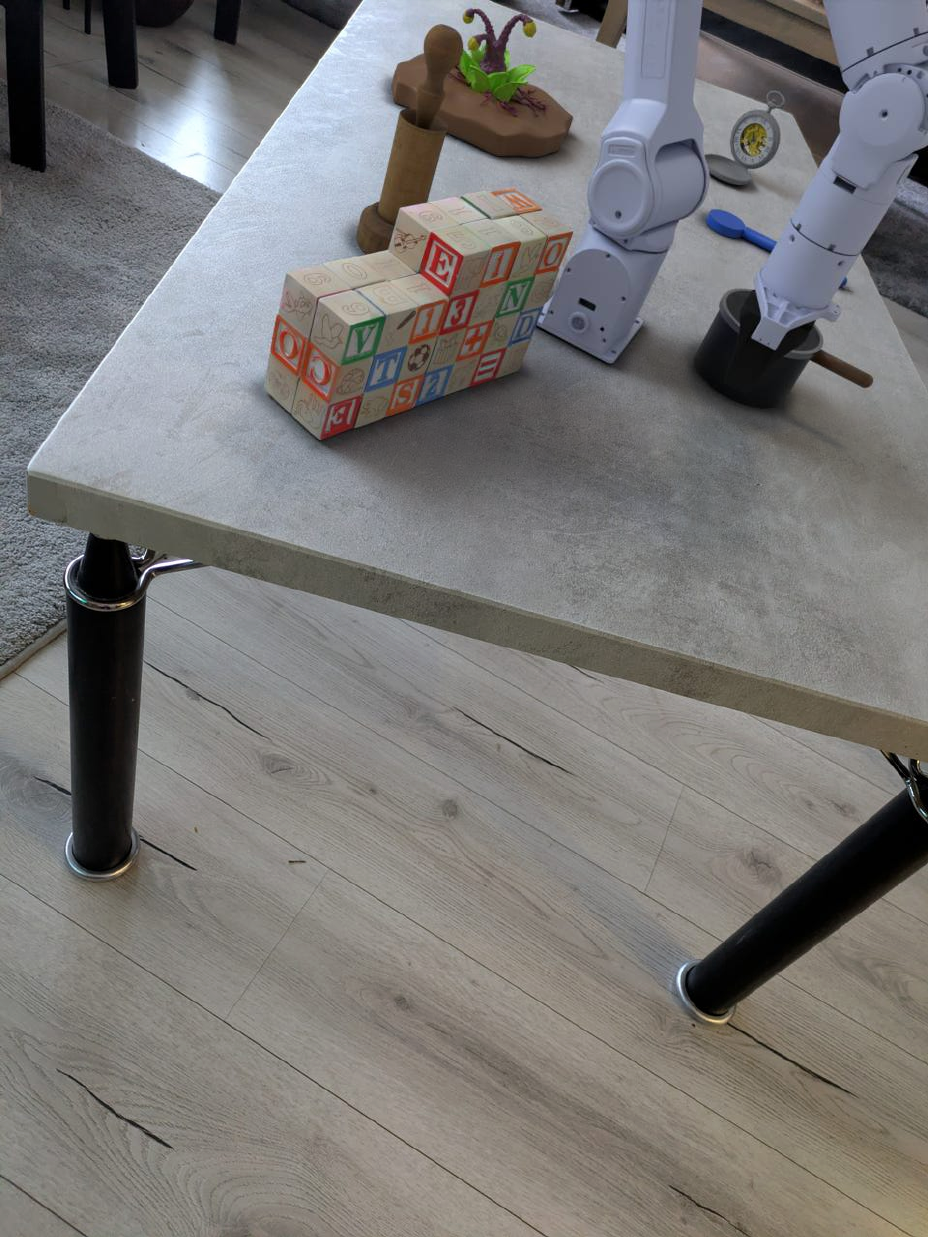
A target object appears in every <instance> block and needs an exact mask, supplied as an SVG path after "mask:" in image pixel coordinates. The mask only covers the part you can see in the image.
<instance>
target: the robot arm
mask: <svg viewBox="0 0 928 1237" xmlns="http://www.w3.org/2000/svg"><path fill="white" fill-rule="evenodd" d="M703 1H704V0H628V1H627V18H626V33H625V47H624V64H623V80H622V96H621V104H620V105H619V107H618V109H617V110H616V112H614V115H613V116H612V118H611V119H610V120H609V122H608V124H607V125H606V127H605V128H604V130H603V131H602V133H601V135H600V141H599V142H600V144H599V154H598V159H597V162H596V165H595V167H594V168H593V171H592V173H591V175H590V177H589V180H588V184H587V192H586V198H587V199H586V200H587V206H588V211H589V216H588V219H587V221H586V223H585V225H584V228H583V231H582V234H581V235H580V238H579V241H578V243H577V246H576V248H575V249H574V250H575V251H574V253H573V254H572V255H571V256H570V257H569V258H568V260H567V262H566V264H565V266H564V268H563V270H562V272H561V275H560V277H559V280H558V282H557V285H556V287H555V290H554V293H553V295H552V296H551V297H550V298H548V300H547V302H546V303H545V305H544V308H543V310H542V313H541V315H540V317H539V320H538V322H537V325H536V327H539V328H541V329H543V330H545V331H547V332H548V333H551V334H552V335H554V336H556V337H558V338H560V339H562V340H564V341H566V342H567V343H568V344H569V343H570V344H571V345H572V346H575V347H576V348H579V349H581V350H582V351H584V352H586V353H587V354H590V355H592V356H594V357H596V358H597V359H599V360H601V361H603V362H605V363H607V364H613V363H615V361H616V360H617V359H618V357H619V356H620V355H621V354H622V353H623V352H624V349H626V347H627V346H628V345H629V343H630V342H631V340H632V339H633V338H634V337H635V335H637V333H638V331H639V330H640V329H641V328H642V327H643V325H644V319H643V318H641V317H639V316H638V315H639V313H640V312H641V309H642V307H643V305H644V304H645V301H646V299H647V297H648V295H649V292H650V290H651V288H652V287H653V284H654V282H655V280H656V278H657V275H658V273H659V272H660V270H661V267H662V265H663V263H664V262H665V259H666V257H667V255H668V253H669V251H670V249H671V247H672V244H673V243H674V240H675V232H676V229H677V227H678V225H679V222H680V221H682V220H684V219H685V220H686V219H687V218H689V217H691V216H692V215H693V214H695V213H696V212H697V211H698V210H699V209H700V207H701V206H702V205H703V203H704V201H705V199H706V197H707V195H708V192H709V188H710V173H709V169H708V165H707V162H706V159H705V156H704V155H705V152H704V145H703V144H704V131H705V127H704V124H703V123H704V122H703V121H702V119H701V116H700V114H699V112H698V110H697V108H696V106H695V103H694V95H695V84H696V74H697V62H698V53H699V44H700V43H699V42H700V32H701V22H702V12H703ZM822 3H823V7H824V11H825V15H826V18H827V22H828V27H829V29H830V34H831V38H832V43H833V46H834V50H835V54H836V57H837V61H838V62H837V63H838V66H839V69H840V73H841V78H842V81H843V83H844V84H845V85H846V87H847V88H848V90H849V91H847V92H846V93H845V94H844V97H843V99H842V103H841V106H840V111H839V119H838V120H839V124H838V125H839V133H838V136H837V137H836V139H835V140H834V142H833V144H832V146H831V148H830V150H829V151H828V153H827V154H826V156H825V157H824V158H823V159H822V161H821V163H820V164H819V166H818V168H817V170H816V172H815V175H814V176H813V178H812V179H811V181H810V183H809V184H808V186H807V188H806V190H805V191H804V193H803V195H802V197H801V199H800V201H799V202H798V204H797V206H796V208H795V210H794V211H793V213H792V215H791V217H790V218H789V220H788V221H787V224H786V225H785V227H784V229H783V231H782V233H781V235H780V236H779V238H778V240H777V241H776V242H777V243H776V245H775V247H774V249H773V251H772V252H770V254H769V256H768V257H767V260H766V261H765V263H764V265H763V266H762V267H760V268H759V269H758V271H757V272H756V274H755V276H754V277H753V285H754V288H753V289H751V290H752V291H751V292H750V293H749V295H748V297H747V298H746V300H745V301H744V303H743V305H742V307H741V311H740V328H739V335H738V340H737V344H736V347H735V350H734V353H733V356H732V359H731V361H730V364H729V367H728V370H727V373H726V377H725V382H724V383H725V384H727V385H729V386H731V387H733V388H735V389H736V390H738V391H740V392H742V393H744V394H746V393H747V392H749V391H750V390H751V389H752V388H753V387H754V386H755V385H756V384H757V383H758V382H759V381H760V379H761V378H762V377H763V376H764V375H765V374H766V373H767V372H768V370H769V369H770V368H771V367H772V366H773V365H774V364H775V363H776V362H777V361H778V360H780V359H781V358H782V357H783V356H785V355H786V354H788V353H789V352H791V351H792V350H794V349H796V348H798V347H799V346H801V345H802V344H803V343H804V342H805V341H806V340H807V338H808V336H809V334H810V331H811V329H812V328H813V326H814V324H815V325H816V322H817V320H818V319H824V320H826V321H829V322H830V323H835V322H837V321H838V319H839V317H840V316H841V314H842V311H843V308H842V306H841V305H840V304H838V303H836V302H834V301H833V300H832V299H833V298H834V296H835V295H836V293H837V291H838V290H839V288H840V287H839V286H840V285H841V283H842V282H843V280H844V278H845V277H846V278H847V275H848V274H849V272H850V270H851V269H852V267H853V266H854V264H855V263H856V261H857V260H858V258H859V256H860V255H861V254H862V251H863V250H864V248H865V247H866V245H867V243H868V242H869V241H870V239H871V237H872V235H874V233H875V231H876V229H877V228H878V226H879V224H880V223H881V221H882V220H883V218H884V216H885V215H886V213H887V212H888V210H889V208H890V207H891V205H892V204H893V202H894V201H895V199H896V197H897V196H898V194H899V191H900V188H901V185H902V184H903V182H904V181H905V180H906V179H907V177H908V176H909V174H910V173H911V170H912V168H913V167H914V165H915V164H916V162H917V160H918V158H919V154H917V153H914V152H916V151H919V150H921V149H924V148H926V147H927V146H928V7H927V2H926V0H822Z"/></svg>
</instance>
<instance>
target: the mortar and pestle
mask: <svg viewBox="0 0 928 1237" xmlns="http://www.w3.org/2000/svg"><path fill="white" fill-rule="evenodd" d="M463 49H464V41H463V37H462V35H461V34H460V32H459V31H458V30H457V29H456V28H454V27H452V26H450V25H448V24H443V23H439V24H436V25H434V26H432V27H431V28H430V29H429V30H428V32H427V33H426V35H425V38H424V40H423V53H424V55H425V61H426V66H427V76H426V78H425V80H424V82H421V83H419V84H418V87H417V109H409V108H403V109H401V110H400V111H399V113H398V117H397V121H396V122H397V123H396V127H395V131H394V136H393V141H392V146H391V150H390V153H389V159H388V162H387V168H386V171H385V175H384V181H383V186H382V189H381V193H380V197H379V201H376V202H374V203H373V204H370V205H367V206H366V207H364V208H363V210H362V211H361V213H360V216H359V222H358V227H357V230H356V234H355V235H356V236H355V240H356V244H357V246H358V247H359V248H360V250H361V251H362V252H363V253H364V254H365V255H367V254H372V253H376V252H381V251H386V250H388V248H389V245H390V241H391V238H392V234H393V231H394V227H395V223H396V220H397V216H398V213H399V209H400V208H402V207H408V206H413V205H418V204H423V203H429V198H430V194H431V190H432V186H433V182H434V180H435V179H434V178H435V175H436V172H437V168H438V163H439V161H440V157H441V152H442V150H443V147H444V146H443V145H444V143H445V138H446V135H447V133H446V132H447V128H448V127H447V124H446V123H445V122H444V121H443V120H442V119H440V118H439V117H437V116H435V115H436V114H437V112H438V110H439V108H440V107H441V105H442V103H443V101H444V98H445V96H446V93H445V91H444V89H443V85H444V79H445V77H446V75H447V74H448V73H449V72H450V71H451V70H452V69H453V68H454V67H455V66H456V65H457V64H458V62H459V61H460V59H461V57H462V54H463Z"/></svg>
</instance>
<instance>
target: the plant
mask: <svg viewBox="0 0 928 1237" xmlns="http://www.w3.org/2000/svg"><path fill="white" fill-rule="evenodd" d="M475 15H478V17H480V19H481V21H482V23H483V24H484V28H485V29H484V31H485V32H483V33H481V34H477V35H473V36H471V37H469V38H468V41H467V50H468V51H469V53H470V54H468V53H467V51H466V49H464V48H463V54H462V57H461V59H460V61H459V62H458V64H457V65H456V66H455V67H454V68H453V69H452V70H451V71H450V72H449V73H448V74H447V75H446V77H445V79H444V85H443V89H444V91H445V93H446V96H445V98H444V101H443V103H442V105H441V107H440V108H439V110H438V112H437V114H436V115H435V116H437V117H439V118H440V119H442V120H443V121H444V122H445V123H446V124H447V127H448V128H447V132H446V134H448V135H451V136H453V137H456V138H458V139H460V140H462V141H464V142H466V143H468V144H470V145H473V146H474V147H476V148H479V149H481V150H483V151H484V152H487V153H489V154H491V155H494V156H497V157H516V156H517V157H524V158H540V157H543V156H546V155H548V154H552V153H554V152H558V151H559V150H560V149H561V147H562V145H563V143H564V139H565V137H566V136H568V135H569V132H570V129H571V126H572V124H573V121H574V116H573V115H572V114H571V113H570V112H568V111H567V110H566V109H565V107H563V106H562V105H561V104H560V103H559V102H558V101H557V100H556V99H554V97H553V96H551V95H550V94H549V93H548V92H547V91H546V90H544V89H542V88H540V87H539V86H536V85H533V84H530V83H529V81H528V80H525V79H526V78H527V77H528V76H529V75H530V74H532V73H533V72H534V71H535V70H536V65H533V64H521V65H516V66H514V67H513V68H511V69H510V65H511V64H510V62H511V54H510V52H509V50H508V49H507V44H508V42H509V40H510V35H511V34H512V30H513V29H514V28H515V27H516V24H517V23H519V21H520V22H521V23H522V30H523V33H524V36H526V37H527V38H531V39H532V38H533V37H534V36H535V35H536V33H537V24H536V23H535V21H534V19H532V17H529V16H528V14H524V13H519V14H517V15H514V16H512V17H511V18H510V20H507V22H506V24H505V25H504V27H503V29H502V30H501V33H500V34H499V36H498V38H496V34H495V29H494V26H493V25H492V21H491V20H490V18H489V17H488V15H487V14H486V13H485V11H483V10H482V9H480V8H468V9H466V10H464V12H463V14H462V21H463V22H464V24H465V25H470V24H472V23H473V21H474V20H475ZM483 41H485V43H484V44H483V46H482V48H481V50H480V47H481V45H482V42H483ZM426 76H427V66H426V61H425V55H424V52H423V53H420V54H418V55H415V56H414V57H412V58H411V59H409V60H406V61H401V62H398V63H397V65H396V68H395V69H394V72H393V77H392V81H391V86H390V89H391V92H392V95H393V96H392V101H393V102H394V103H396V104H399V105H401V106H403V107H405V108H406V109H417V87H418V84H419V83H421V82H424V80H425V78H426Z"/></svg>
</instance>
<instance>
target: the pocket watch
mask: <svg viewBox="0 0 928 1237" xmlns="http://www.w3.org/2000/svg"><path fill="white" fill-rule="evenodd" d="M772 94H778V95H779V96H780V97H781V98H782V100H781V102H782V103H781V104H779V105H777V104H776V103H777V100H776V99H775V98H773V99H771V101H770V99H769V97H770V95H772ZM765 99H766V102H767V109H766V110H764V109H753V110H748V111H747V112H745V113H743V114H742V115H741V116H740V117H739V118H738V119H737V120H736V122H735V123H734V125H733V126H732V130H731V133H730V138H729V147H730V153H731V155H732V157H733V159H731V158H728V157H726V156H723V155H720V154H716V153H715V154H714V153H704V156H705V159H706V162H707V165H708V169H709V175H712V176H713V177H715V178H717V179H719V180H721V181H723V182H725V183H728V184H731V185H736V186H746V185H748V184H749V183H750V182H751V180H752V178H753V177H752V174H751V172H749V170H757V169H760V168H763V167H764V166H766V165H768V163H770V162H771V161H772V160H773V159H774V157H775V156H776V154H777V152H778V150H779V149H780V148H779V147H780V144H781V128H780V125H779V122H778V121H777V119H776V118H775V116H773V114H771V113H772V110H775V109H780V108H782V107H783V106H784V105H785V103H786V98H785V96H784V94H782V93H781V92H780V91H777V90H771V91H769V92H767V94H766V96H765ZM747 146H748V147H747ZM746 147H747V148H746ZM747 149H748V150H749V151H748V150H747ZM761 149H763V150H761Z"/></svg>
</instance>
